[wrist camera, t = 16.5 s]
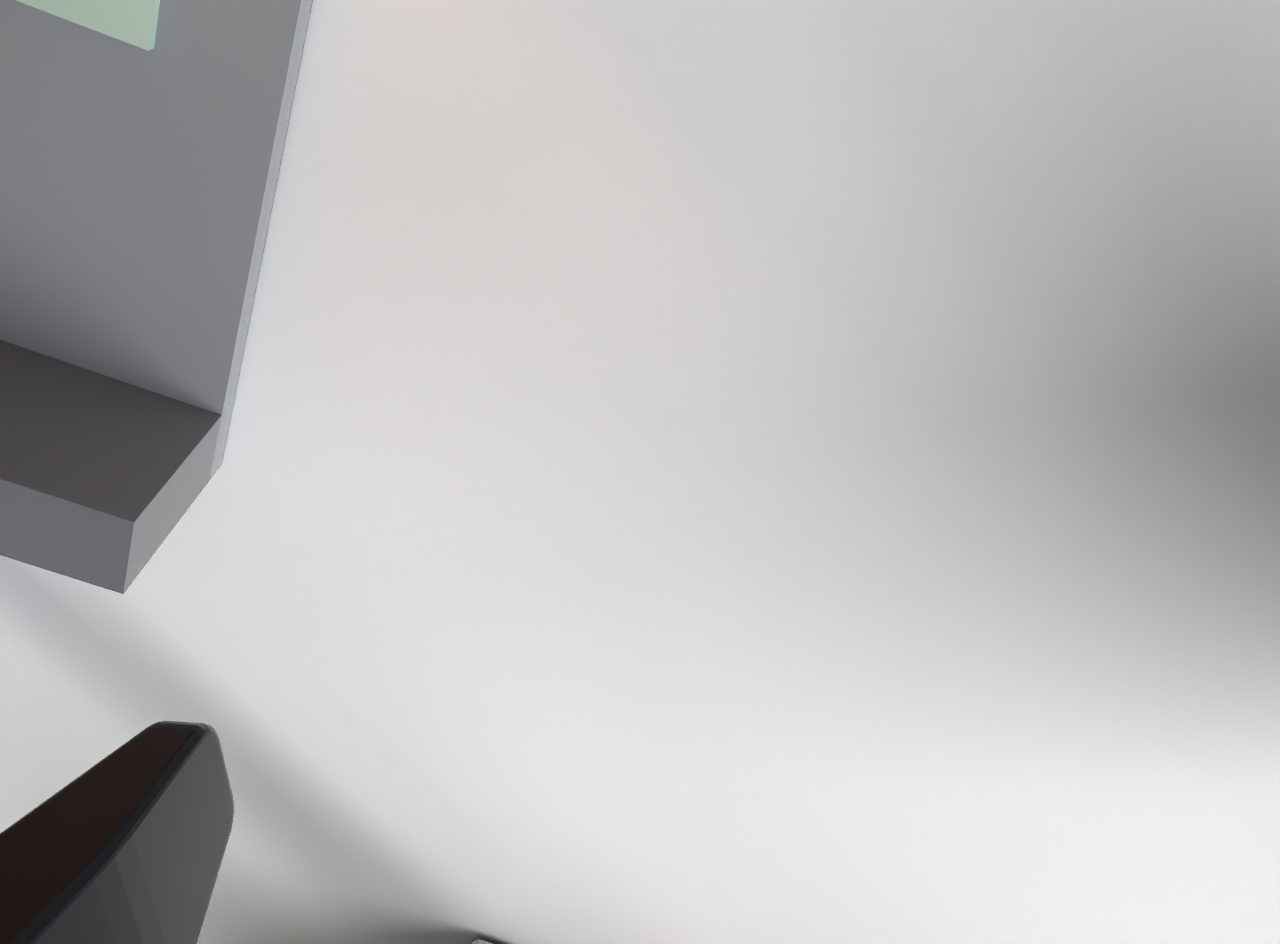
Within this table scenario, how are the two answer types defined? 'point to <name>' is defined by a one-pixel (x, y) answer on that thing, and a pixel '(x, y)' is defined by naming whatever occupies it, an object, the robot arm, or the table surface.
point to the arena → (129, 260)
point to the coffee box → (480, 942)
